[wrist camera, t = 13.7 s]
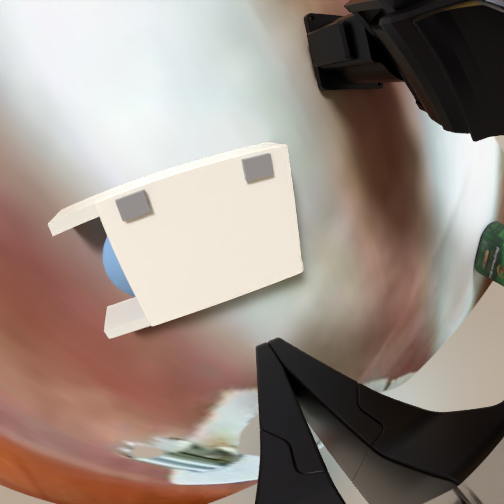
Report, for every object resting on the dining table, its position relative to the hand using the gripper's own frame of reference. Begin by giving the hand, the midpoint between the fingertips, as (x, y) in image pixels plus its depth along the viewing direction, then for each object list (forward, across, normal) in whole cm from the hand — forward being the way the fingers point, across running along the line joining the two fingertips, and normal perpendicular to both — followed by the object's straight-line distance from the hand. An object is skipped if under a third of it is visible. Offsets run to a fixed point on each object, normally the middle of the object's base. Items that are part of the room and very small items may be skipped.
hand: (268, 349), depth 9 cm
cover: (+9, 0, 0) cm, 9 cm away
